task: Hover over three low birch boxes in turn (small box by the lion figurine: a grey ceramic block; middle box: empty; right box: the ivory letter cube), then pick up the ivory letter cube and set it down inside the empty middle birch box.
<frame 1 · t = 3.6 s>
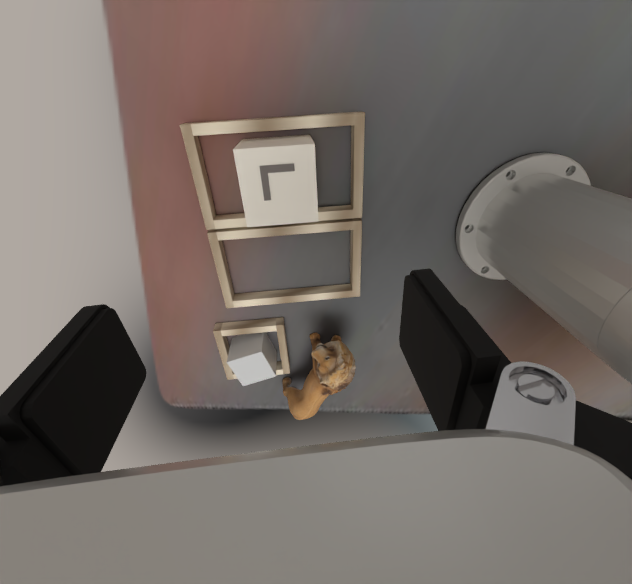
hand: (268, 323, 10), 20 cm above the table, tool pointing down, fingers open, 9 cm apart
letter cube: (279, 171, 27), resting in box
small box: (254, 345, 38), on the table
grey block: (254, 344, 38), resting in small box
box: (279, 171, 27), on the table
lion figurine: (311, 351, 39), on the table
middle box: (289, 260, 32), on the table
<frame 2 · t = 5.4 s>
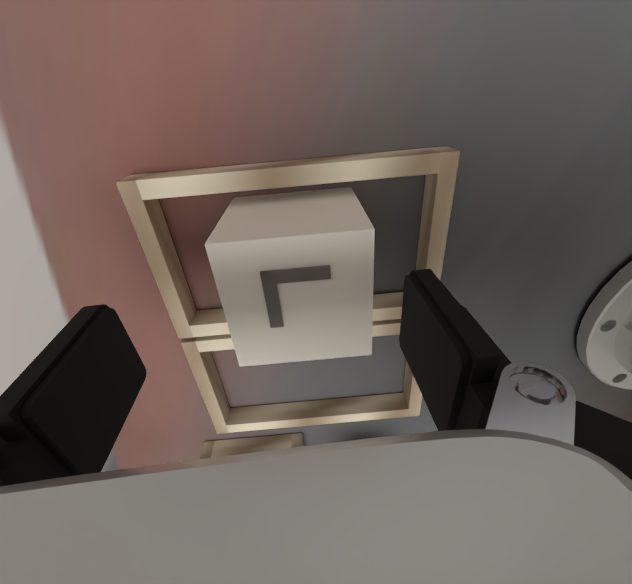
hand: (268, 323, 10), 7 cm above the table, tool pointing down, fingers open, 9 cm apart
letter cube: (298, 245, 16), resting in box
small box: (261, 464, 27), on the table
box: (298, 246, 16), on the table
middle box: (312, 366, 21), on the table
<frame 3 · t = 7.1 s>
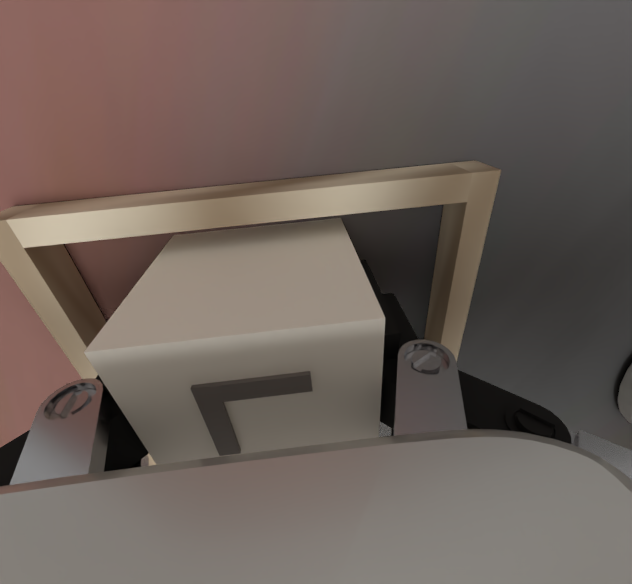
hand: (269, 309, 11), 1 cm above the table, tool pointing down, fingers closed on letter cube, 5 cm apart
letter cube: (270, 295, 12), resting in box, touching gripper
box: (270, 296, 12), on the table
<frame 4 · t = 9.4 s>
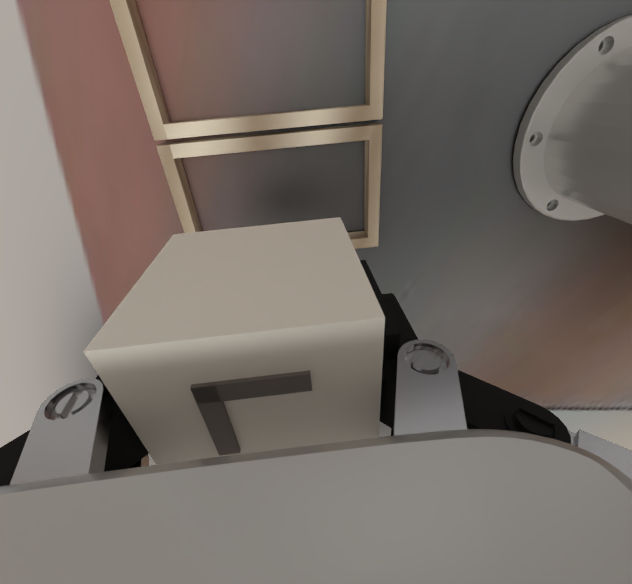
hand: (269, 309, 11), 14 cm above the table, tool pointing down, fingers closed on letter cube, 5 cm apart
letter cube: (270, 295, 12), point 13 cm above the table, touching gripper
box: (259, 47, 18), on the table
middle box: (279, 196, 23), on the table
when the fingers open (2 cm above the table, at t = 12.2 s): letter cube drops 1 cm, resting in middle box.
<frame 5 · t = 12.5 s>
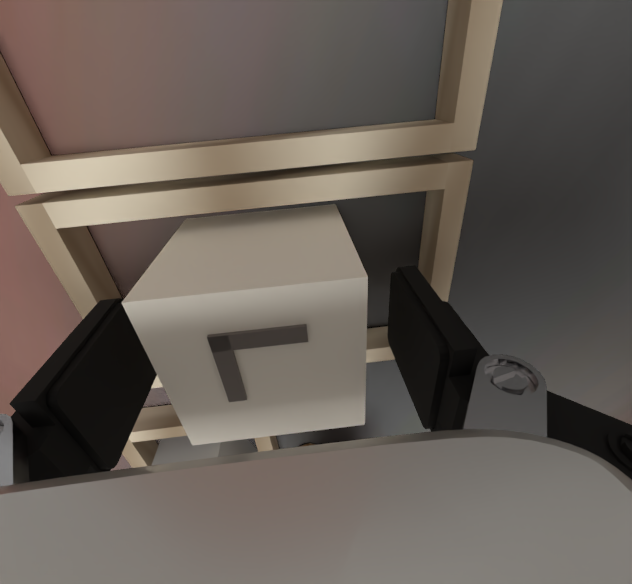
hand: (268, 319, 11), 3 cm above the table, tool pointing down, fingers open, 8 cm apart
letter cube: (272, 274, 13), resting in middle box
small box: (211, 443, 19), on the table
grey block: (212, 441, 19), resting in small box
middle box: (271, 277, 13), on the table
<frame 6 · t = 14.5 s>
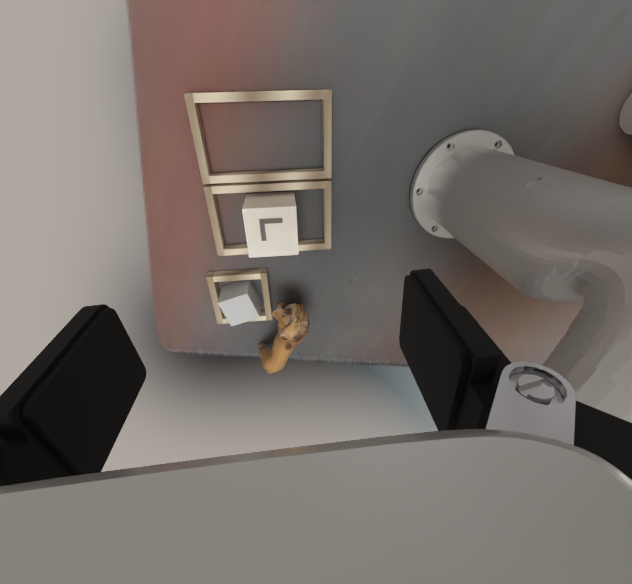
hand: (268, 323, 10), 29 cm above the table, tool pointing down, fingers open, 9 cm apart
letter cube: (272, 215, 38), resting in middle box
small box: (242, 294, 44), on the table
grey block: (242, 293, 44), resting in small box
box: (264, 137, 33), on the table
lion figurine: (280, 318, 47), on the table
middle box: (272, 216, 38), on the table
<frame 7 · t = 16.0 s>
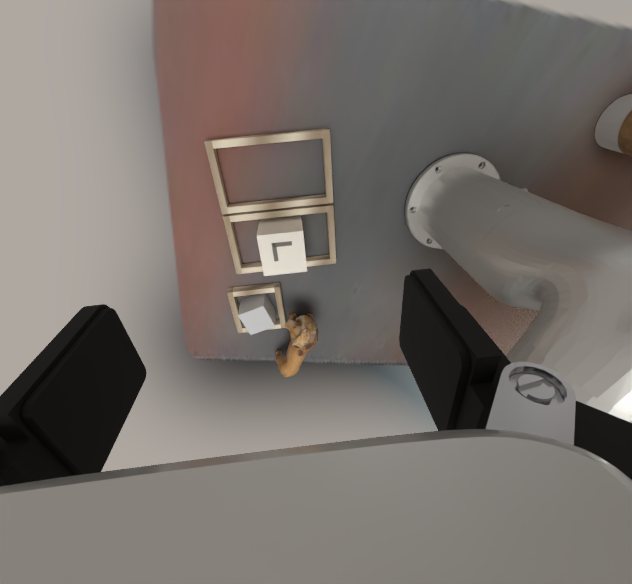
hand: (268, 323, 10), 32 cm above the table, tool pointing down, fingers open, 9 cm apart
letter cube: (282, 236, 43), resting in middle box
small box: (258, 305, 49), on the table
grey block: (258, 305, 49), resting in small box
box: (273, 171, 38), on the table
lion figurine: (293, 327, 52), on the table
middle box: (282, 237, 43), on the table
coffee cup: (617, 121, 39), on the table
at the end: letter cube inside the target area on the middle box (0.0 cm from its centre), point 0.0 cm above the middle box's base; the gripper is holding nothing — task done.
